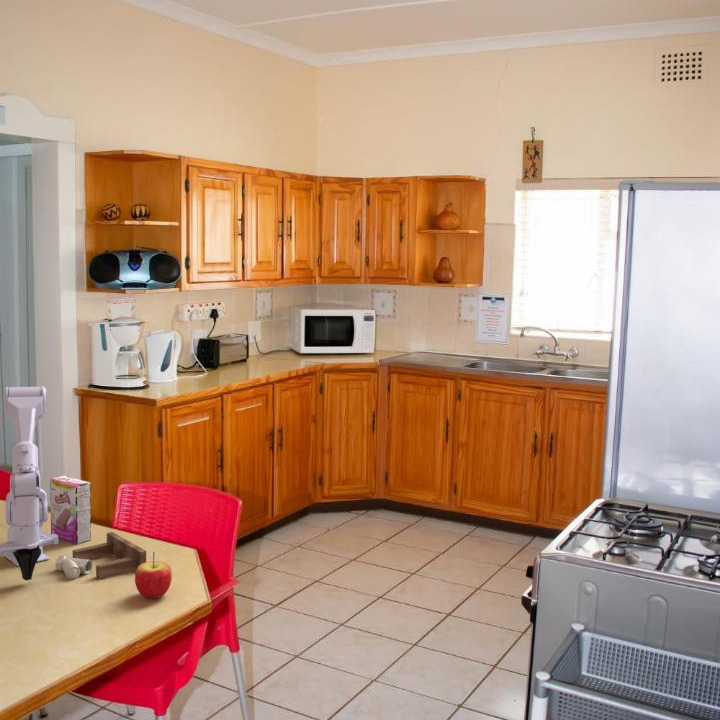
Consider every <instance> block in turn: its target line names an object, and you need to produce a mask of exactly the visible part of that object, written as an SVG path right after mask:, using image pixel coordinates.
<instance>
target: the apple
mask: <svg viewBox="0 0 720 720" xmlns="http://www.w3.org/2000/svg"><path fill="white" fill-rule="evenodd" d="M172 572H173V571H172V568H171V566H170V565H169V564H168V563H167V562H164V561H158V560H155V551H153V552H152V560H151V561H150V560H149V561H146V562H145V563H142V564H141V565H139V566H138V568H137V570H135V574H134V583H135V586H136V587H135V588H136V589H137V591H138V593H139V595H141V596H142V597H144V598H147V599H157V598H160V597H163V596H164V595H166V593H167V592H168V590H169V589H170V586H171V585H172V578H173V573H172Z"/></svg>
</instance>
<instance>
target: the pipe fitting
mask: <svg viewBox="0 0 720 720" xmlns="http://www.w3.org/2000/svg"><path fill="white" fill-rule="evenodd" d="M54 567H55V570H56V571H62V572H63V573H64V574H65V577H66V579H69V580H72V579H77V578H78V577H79V576H80V574H83V575H89V574H90V573H91V572H92V569H93V560H88V559H77V558H73V557H69V556H64V555H59V556H58V557H57V558H56V561H55V566H54Z"/></svg>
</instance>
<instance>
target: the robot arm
mask: <svg viewBox="0 0 720 720" xmlns="http://www.w3.org/2000/svg"><path fill="white" fill-rule="evenodd" d="M3 410H4V415H5V417H6V419H7V420H9V421H12V422H14V425H15V428H16V445H14V447H13V448H12V456H11V457H12V461H11V463H12V465H11V467H12V469H11V470H12V472H11V475H10V476H9V477H10V478H9V490H10V491H9V492H8V493H7V494H6V498H5V524H6V525H8V526H9V527H8V529H7V536H6V537H7V538H6V539H7V542H4V543H1V544H0V557H1V556H2V555H3V557H5V558H7V559H8V560H9V561H11V562H12V563H13V564H14V565H16V566H17V567H19V569H20V572H21V573H20V574H21V577H22V578H21V579H23V580H24V581H31V580H32V577H33V574H34V571H35V567H36V565H37V563H39V562H42V561H43V562H44V561H47V560H48V561H49V559H50V557H49V556H47V555H46V554H44V553H43V551H44V550H43V549H44V548H43V547H45V546H48V545H52V544H53V545H57V544H59V538H58V535H56V534H51V533H50V534H43V523H46V522H47V521H48V518H49V516H48V515H49V514H48V513H49V512H48V510H49V509H48V495H47V493H46V491H45V490H44V489H42V488H41V486H42V483H41V474H40V473H41V472H40V467H39V448H38V446H37V445H36V441H35V431H36V429H35V428H36V426H37V422H38V421H40V420H42V419H44V418H45V415H46V414H47V413H46V410H47V388H46V387H45V386H44V385H41V386H6V387H5V388H4V389H3Z"/></svg>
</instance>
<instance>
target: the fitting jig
mask: <svg viewBox="0 0 720 720" xmlns="http://www.w3.org/2000/svg"><path fill="white" fill-rule="evenodd" d="M71 552H72V558H77V559H88V560H92V561H94V560H99V559H103V558H107V557H111V556H113V557H115V558H117V559H116V560H112V561H107V562H103V563H98V564H95V578H97V579H99V580H103V579H107V578H111V577H115V576H119V575H123V574H128V573H131V572H136V570H137V568H138V566H139V565H141V564H142V563H145V562H147V550H146V549H144V548H142V547H140V546H138V545H137V544H135V543H133V542H131V541H130V540H127V539H125V538H123V537H122V536H121V535H118V534H117V533H115V532H114V531H110V532H106V542H103V543H98V544H94V545H89V546H85V547H81V548H76V549H72V551H71Z"/></svg>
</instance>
